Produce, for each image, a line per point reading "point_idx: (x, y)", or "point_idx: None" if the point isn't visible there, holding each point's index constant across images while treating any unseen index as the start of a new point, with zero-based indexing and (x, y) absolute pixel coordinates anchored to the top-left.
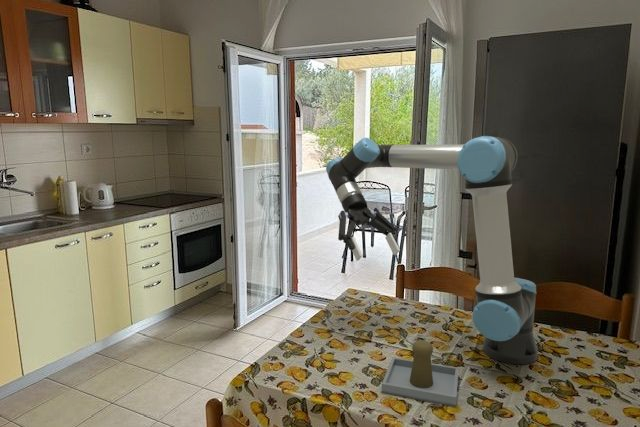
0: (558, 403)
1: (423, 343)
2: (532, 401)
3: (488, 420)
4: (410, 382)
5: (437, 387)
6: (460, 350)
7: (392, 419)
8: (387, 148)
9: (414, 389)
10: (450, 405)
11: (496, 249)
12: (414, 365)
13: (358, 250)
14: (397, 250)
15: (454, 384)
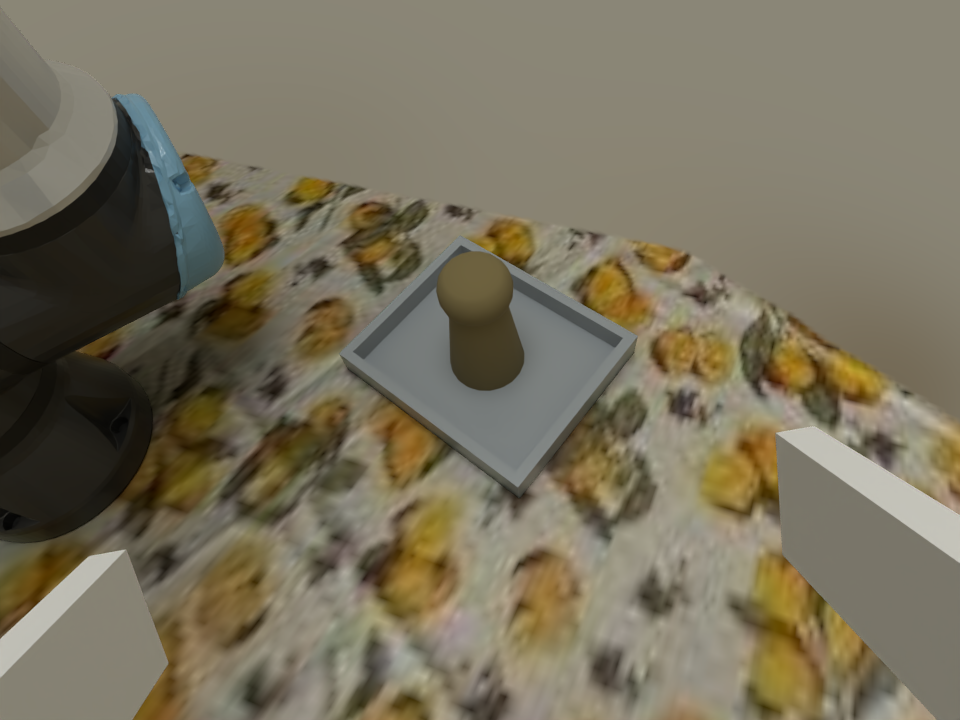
0: (225, 215)
1: (474, 266)
2: (270, 232)
3: (426, 202)
4: (523, 360)
5: None
6: (195, 522)
7: (649, 249)
8: None
9: (550, 288)
10: None
11: None
12: (512, 319)
13: (863, 469)
14: (125, 564)
15: (422, 281)
